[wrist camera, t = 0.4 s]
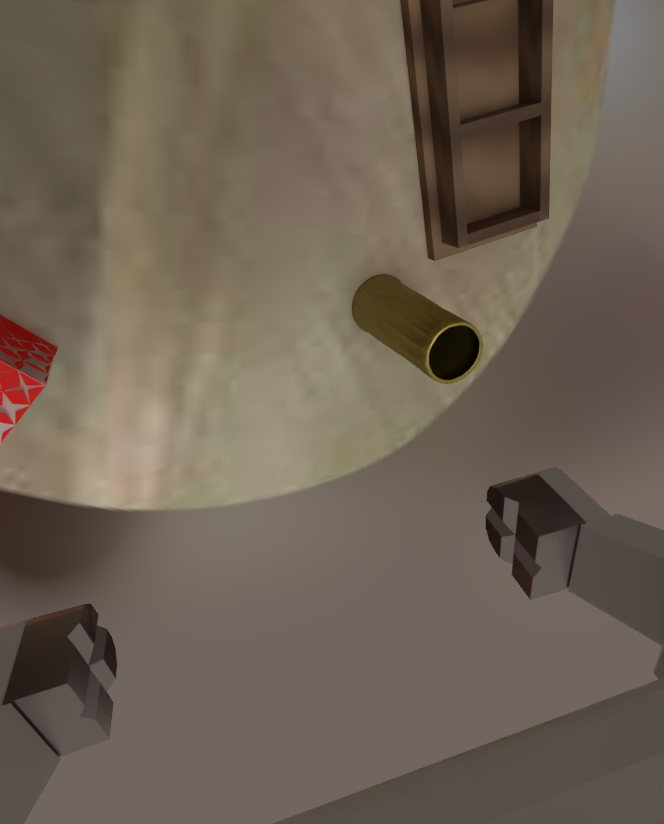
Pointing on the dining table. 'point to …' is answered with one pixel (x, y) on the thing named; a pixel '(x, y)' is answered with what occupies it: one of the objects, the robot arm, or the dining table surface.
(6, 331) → the puzzle cube
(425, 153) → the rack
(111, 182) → the dining table surface
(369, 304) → the vase
